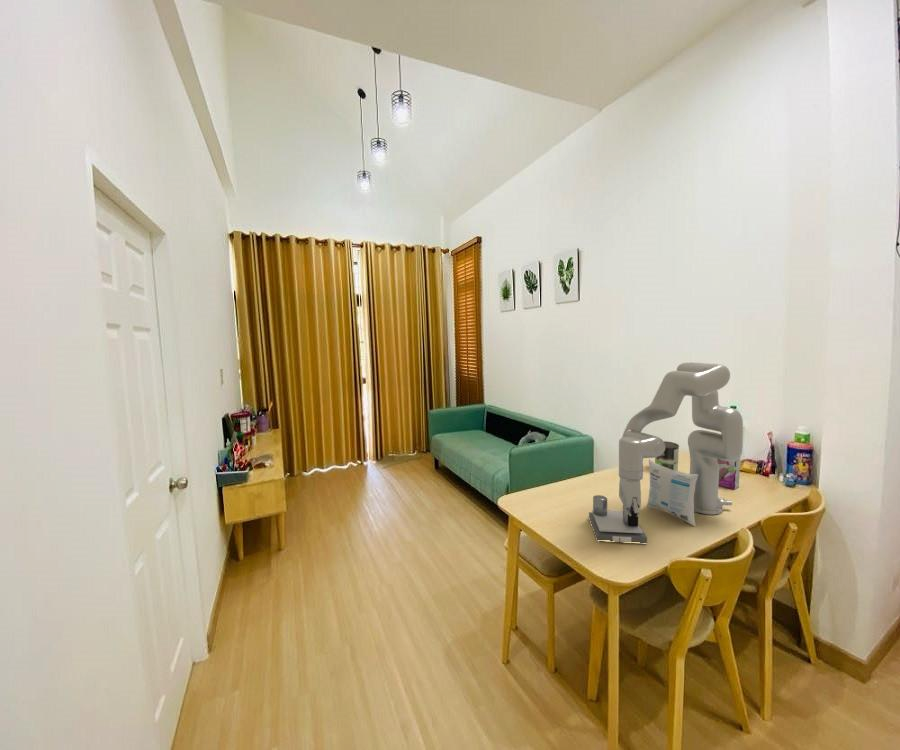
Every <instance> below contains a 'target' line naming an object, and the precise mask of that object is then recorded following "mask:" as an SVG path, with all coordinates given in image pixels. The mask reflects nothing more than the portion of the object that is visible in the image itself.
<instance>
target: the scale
mask: <svg viewBox="0 0 900 750" xmlns="http://www.w3.org/2000/svg"><path fill="white" fill-rule="evenodd" d="M589 518H590V520H589V522H590V521H591V523H590V525H591V524H592V526H591V528H592V527H593V529H594V531H593V533H594V532H595V534H594V536H595V535H596V537H595V538H597V540H610V541H615V542H640V543H647V544H648V537H647V535H646V533H645V532H644V530H643V529H642V527H641V525H640V524H639V523H638V526H637V527H630V526H627V525H625V524H624V523H623V510H608V509H607V516H603V517H602V516H597V515H595V514H594V513H593V509H592V510H591V511H589V512H588V519H589ZM593 529H592V530H593ZM597 540H596V541H597Z"/></svg>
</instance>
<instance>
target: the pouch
mask: <svg viewBox="0 0 900 750" xmlns="http://www.w3.org/2000/svg"><path fill="white" fill-rule="evenodd" d="M648 466H649V490H648V499H647V503H646V507H651V508H655V509H658V510H661V511H665V512H666V513H669V514H671V515H673V516H675V517H677V518H678V519H681V520H683V521H685V522H687V523H688V524H690V525H691V526H693V527H695V528H696V520H695V511H694V492H695V484H696V480H697V478H698V474H690V473H686V472H682V471H679V470H678V471H674V470H671V469H669V468H666V467H664V466H661V465H659V464H657V463H655V461H653V460H652V459H648Z"/></svg>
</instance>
